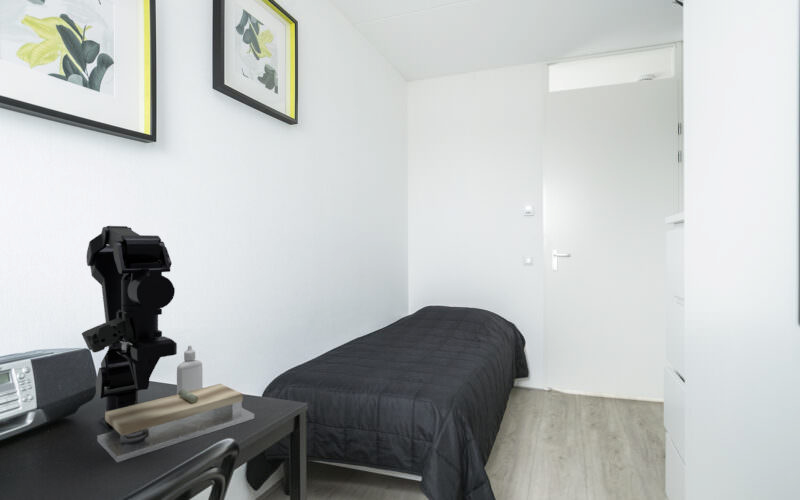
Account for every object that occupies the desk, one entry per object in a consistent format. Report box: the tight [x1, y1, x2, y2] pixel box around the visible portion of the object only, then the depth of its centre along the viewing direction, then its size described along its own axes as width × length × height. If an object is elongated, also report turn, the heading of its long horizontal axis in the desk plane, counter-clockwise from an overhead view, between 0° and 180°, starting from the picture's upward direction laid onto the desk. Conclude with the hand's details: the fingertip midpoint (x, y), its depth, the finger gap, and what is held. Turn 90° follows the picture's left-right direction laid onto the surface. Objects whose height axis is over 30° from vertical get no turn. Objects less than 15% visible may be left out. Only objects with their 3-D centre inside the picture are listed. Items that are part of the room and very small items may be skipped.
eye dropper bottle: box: [176, 345, 204, 394], centre depth 106 cm, size 4×6×12 cm
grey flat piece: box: [96, 401, 255, 463], centre depth 86 cm, size 12×25×4 cm, turn 138°
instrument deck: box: [104, 383, 244, 436], centre depth 86 cm, size 10×22×3 cm, turn 138°
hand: (140, 389), depth 79 cm, fingers closed
